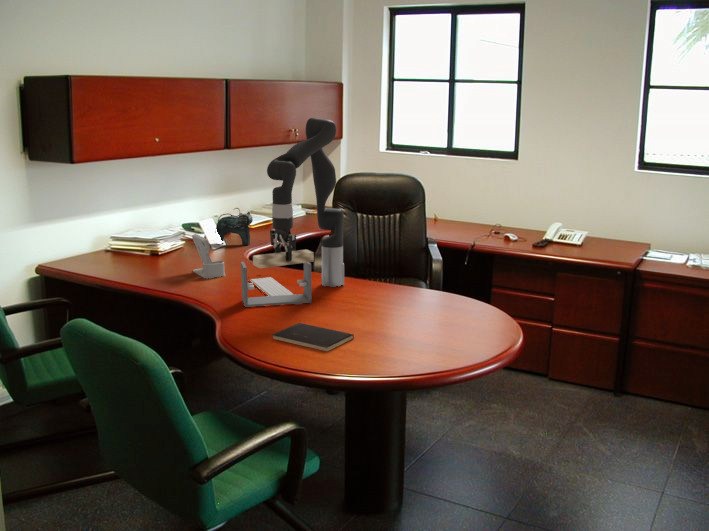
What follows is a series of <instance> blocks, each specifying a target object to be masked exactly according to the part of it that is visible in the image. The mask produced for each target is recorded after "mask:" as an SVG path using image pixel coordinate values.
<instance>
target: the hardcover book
mask: <svg viewBox="0 0 709 531" xmlns="http://www.w3.org/2000/svg"><path fill="white" fill-rule="evenodd" d="M271 335H272V337H273V340H277V341H280V342H281V341H282V342H285V343H291V344H295V345H299V346H301V347H302V346H303V347H308V348H312V349H315V350H320V351H324V352H329V351H331V350H333V349H336V348H337V347H339V346H341V345H343V344H345V343H346V342H349V341H351V340H353V339H354V334H353V333H349V332H346V331H345V332H344V331H341V330H340V331H339V330H335V329H330V328H326V327H321V326H316V325H312V324H307V323H304V322H298V323H295V324H293V325H290V326H289V327H286V328H284V329H281V330H279V331H276V332H273V333H272V334H271Z"/></svg>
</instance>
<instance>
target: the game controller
mask: <svg viewBox="0 0 709 531" xmlns="http://www.w3.org/2000/svg"><path fill="white" fill-rule="evenodd" d="M236 209H237V210H238V211H239V213H238V215H233V214H231V213H228V216H225V215H227V213H223V214H221V215H219V217H218V219H217V223H216V228H215V230H216V229H217V232H218V234H219V235H220V237H221V240H222V241H225V237H226V235H227V234H230V233H231V234H237V235H239V236H240V239H241V244H242V246H243V247H244V246H246V247H247V246H251V234H250V233H251V232H250V228H249V227H250V225H251V224H252V223H253V216H252V215H251V213H250V211H247V212H246V213H243V212H241V209H240V208H238V207H235V208H234V210H236ZM222 216H223V217H222Z"/></svg>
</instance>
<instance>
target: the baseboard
mask: <svg viewBox="0 0 709 531" xmlns="http://www.w3.org/2000/svg"><path fill="white" fill-rule="evenodd" d="M259 277H260V278H259ZM249 278H250V279H249ZM247 279H249V280H250V281H251V282H252V283H254V284H255V285H256V286H257V287H258V288H259V289H261V290H262V291H263V292H265V293H266V294H267V295H268V296H281V295H295V294H294V293H293V292H291V291H290V290H289V289H288V288H286V287H285V286H283V284H281V283H279V282H278V281H277V280H275V278H273V277H271V274H269V275H268V276H265V277H261V274H258V275H257V278H251V277H249V276H247Z"/></svg>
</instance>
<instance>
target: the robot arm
mask: <svg viewBox="0 0 709 531" xmlns="http://www.w3.org/2000/svg"><path fill="white" fill-rule="evenodd" d="M336 135H337V125H336V123H335V122H334V121H333V120H330V119H328V118H327V119H325V118H319V117H309V118H308V120H307V121H306V124H305V137H306V139H305V140H301V141H299V142H297V143H296V144H294V145H293V146H291V148H290V149H288V150H287V151H286V152H285V153H283V154H281V155H279V156H277V157H275V158H274V159H273V160H271V161H270V162H269V163H268V165H267V168H266V173H267V176H268V177H269V179H270V180H273V181H282V183H281V186H276V187H274V188H272V194H271V195H272V210H271V215H272V216H271V219H272V221H271V222H272V223H271V224H272V228H273V229H269V234H270V235H269V236H270V246H272V247H273V248H274V253H280V252H282V248H281V247H282V246H283V247H284V250H285V252H286V261H287V262H289V261H292V251H297V249H296V248H297V235H296V234H292V233H291V229H293V228H294V219H293V218H294V215H293V214H294V211H293V203H292V202H293V197H292V196H293V195H292V194H293V193H292V192H293V188H294V184H295V180H296V176H297V169H298V168H300V166H302V165H303V164H304V162H306V160H307V159H309V158H310V160H311V170H312V178H313V179H312V180H313V184H314V191H315V197H316V198H315V199H316V216H317V224H318V228H319V229H320V230H324V231H334V233H333V234H331V235H329V236H327V237H324V238H322V239H321V285H322V286H323V285H324V286H323V287H326V286H330V287H329V288H337V287H336V286H338V287H341V285H343V286H345V263H344V226H345V213H344V210H343V209H341V208H334V207H332V208H331V207H330V208H329V207H328V208H327V207H326V203H327V201H328V200H329V197H330V195H331V194H332V192H333V191H334V190H335V187H336V185H337V178H336V177H337V176H336V174H337V173H336V169H335V165H334V163H333V162H332V161H331V159H330V158H329V156H328V155H327V154H326V152H325V150H324V147H327V145H329V144H331V142H333V140H334V139H335V138H336Z"/></svg>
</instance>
